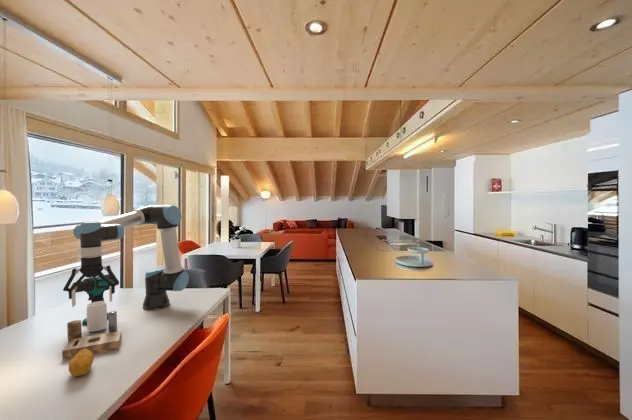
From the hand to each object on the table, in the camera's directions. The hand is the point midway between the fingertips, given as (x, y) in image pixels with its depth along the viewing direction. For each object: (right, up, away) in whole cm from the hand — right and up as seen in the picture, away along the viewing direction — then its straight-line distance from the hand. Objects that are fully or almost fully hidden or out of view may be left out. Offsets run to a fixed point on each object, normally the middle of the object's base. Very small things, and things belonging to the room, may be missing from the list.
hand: (92, 303), depth 138 cm
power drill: (-23, -20, +32) cm, 44 cm away
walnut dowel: (-13, -21, +6) cm, 25 cm away
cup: (-12, -20, +20) cm, 31 cm away
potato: (+9, -22, -18) cm, 30 cm away
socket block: (0, -21, +1) cm, 21 cm away
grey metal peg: (0, -20, +13) cm, 24 cm away
